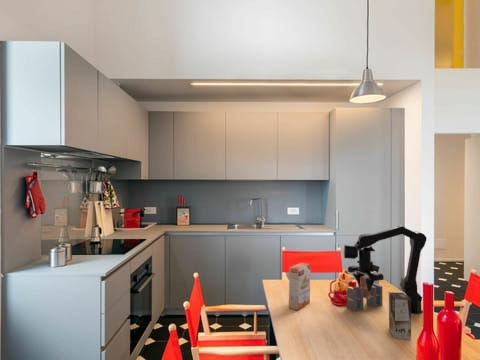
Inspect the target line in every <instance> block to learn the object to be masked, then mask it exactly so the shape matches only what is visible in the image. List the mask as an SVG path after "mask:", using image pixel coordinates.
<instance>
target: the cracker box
mask: <svg viewBox="0 0 480 360" xmlns="http://www.w3.org/2000/svg"><path fill="white" fill-rule="evenodd" d="M288 270H289V271H288V274H289V275H288V309H292V310H294V311H295V310H296V311H300V310H301V309H303V308H304V307H306V306H307V305H308V304H310V303H311V264H310V263H306V262H299V263H297V264H294V265H291V266H289V269H288Z"/></svg>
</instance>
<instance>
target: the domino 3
mask: <svg viewBox="0 0 480 360" xmlns="http://www.w3.org/2000/svg"><path fill="white" fill-rule="evenodd" d="M359 288H361V289H363V299H370V291H368V289H367V284H366V278H365V277H360V287H359Z"/></svg>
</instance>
